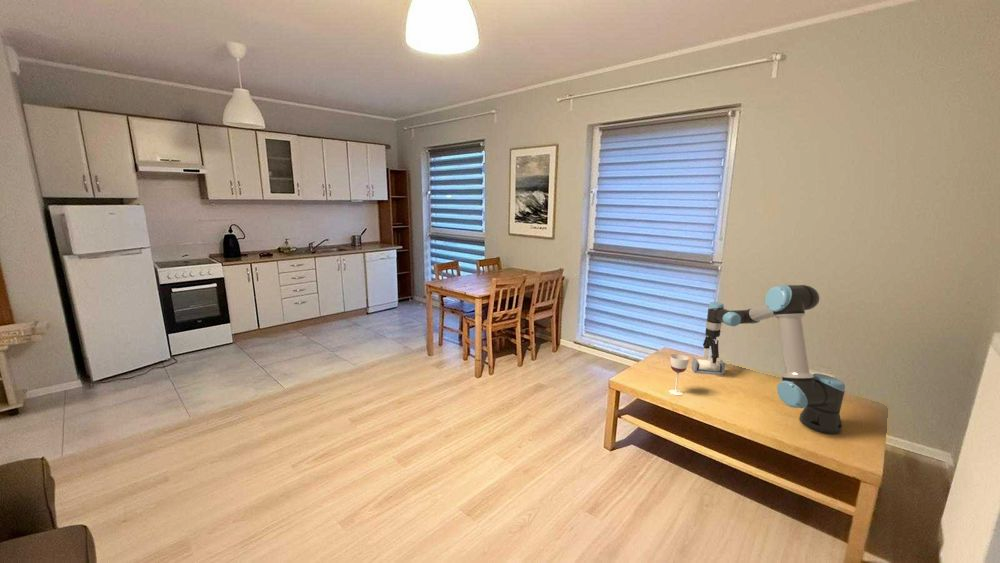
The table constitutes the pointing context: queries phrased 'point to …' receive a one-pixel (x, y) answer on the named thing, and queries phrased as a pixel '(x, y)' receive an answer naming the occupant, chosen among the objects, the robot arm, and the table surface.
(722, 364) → the holder
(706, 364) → the paper roll
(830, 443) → the table surface
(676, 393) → the wineglass
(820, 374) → the robot arm
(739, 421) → the table surface
